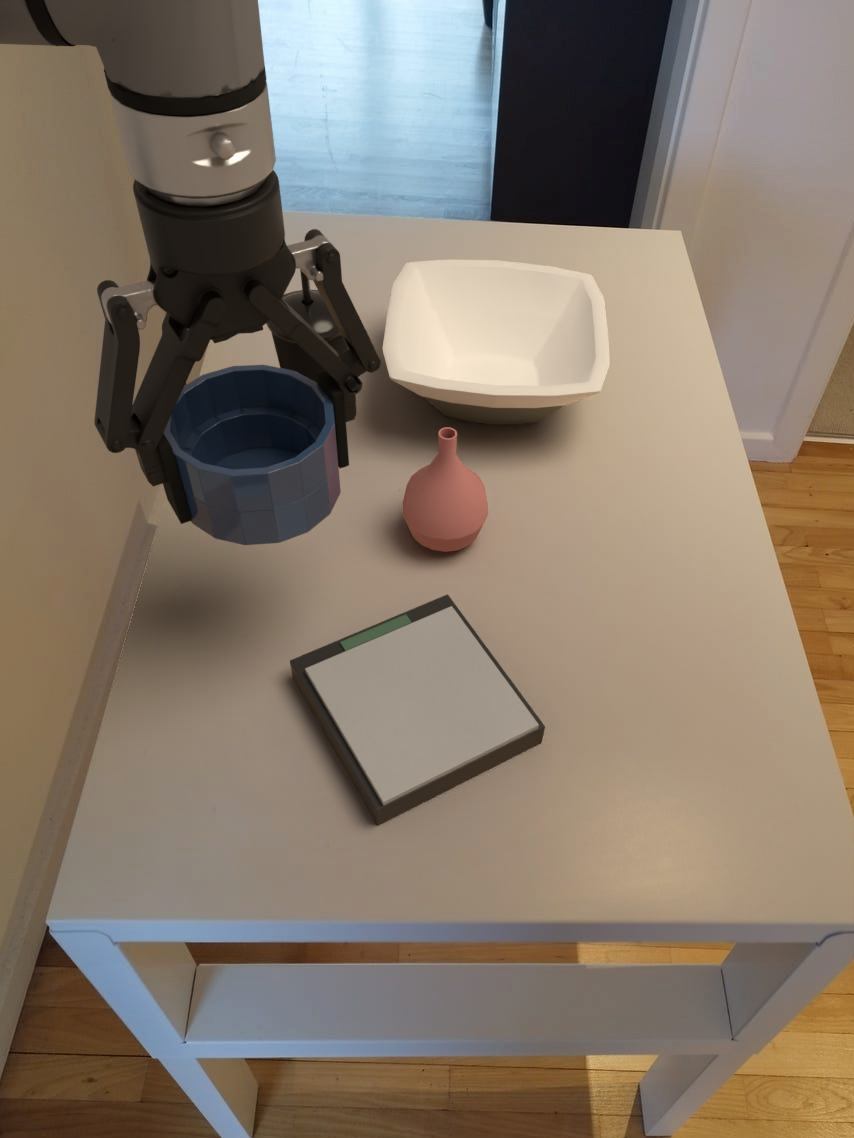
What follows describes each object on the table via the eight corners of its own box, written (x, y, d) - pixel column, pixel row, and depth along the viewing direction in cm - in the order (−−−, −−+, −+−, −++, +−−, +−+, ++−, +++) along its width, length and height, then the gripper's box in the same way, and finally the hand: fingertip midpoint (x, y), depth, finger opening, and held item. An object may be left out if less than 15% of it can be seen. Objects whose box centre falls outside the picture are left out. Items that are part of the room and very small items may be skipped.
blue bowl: (160, 471, 67) (137, 393, 61) (301, 425, 71) (291, 348, 65) (217, 572, 61) (198, 497, 56) (367, 516, 65) (362, 440, 60)
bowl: (590, 334, 104) (602, 265, 98) (600, 470, 91) (614, 401, 84) (398, 321, 104) (396, 252, 97) (378, 456, 90) (375, 386, 83)
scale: (292, 677, 74) (288, 655, 71) (447, 611, 79) (448, 589, 76) (377, 826, 66) (376, 807, 64) (542, 742, 71) (546, 722, 69)
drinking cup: (340, 467, 89) (324, 279, 73) (269, 447, 90) (238, 258, 74) (371, 420, 93) (362, 233, 77) (303, 402, 94) (280, 214, 78)
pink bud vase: (470, 575, 81) (477, 475, 72) (390, 553, 82) (387, 451, 73) (495, 517, 86) (505, 415, 76) (419, 497, 87) (419, 394, 77)
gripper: (-13, 261, 42) (112, 576, 59) (436, 159, 50) (430, 461, 67) (-51, 186, 45) (77, 504, 63) (373, 103, 54) (383, 403, 71)
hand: (260, 482), depth 65 cm, fingers closed on blue bowl, 11 cm apart
